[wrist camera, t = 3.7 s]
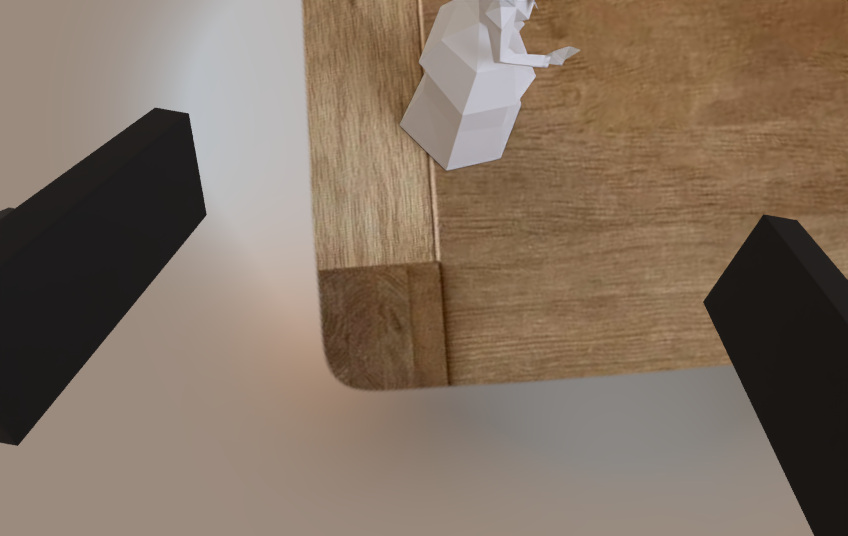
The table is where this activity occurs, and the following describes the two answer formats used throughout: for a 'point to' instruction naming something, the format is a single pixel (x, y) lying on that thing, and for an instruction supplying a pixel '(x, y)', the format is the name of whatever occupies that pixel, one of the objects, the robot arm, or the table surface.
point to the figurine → (473, 81)
